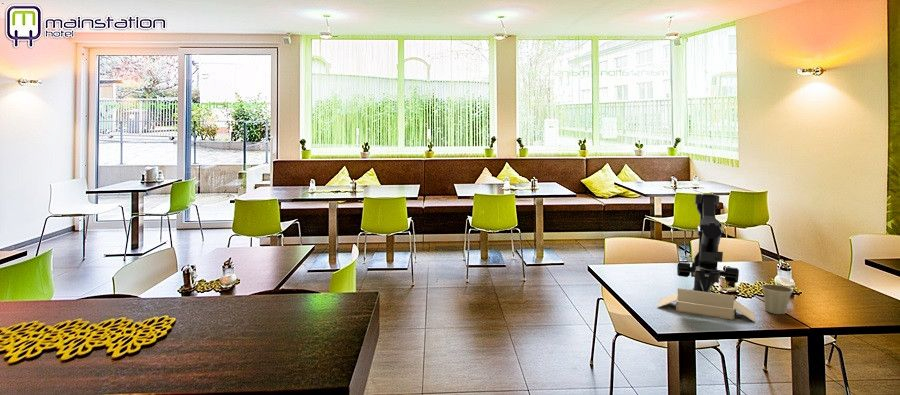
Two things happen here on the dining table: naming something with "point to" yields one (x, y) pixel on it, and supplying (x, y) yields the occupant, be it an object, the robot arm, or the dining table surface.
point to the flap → (706, 298)
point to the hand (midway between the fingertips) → (705, 294)
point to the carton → (707, 308)
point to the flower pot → (776, 298)
